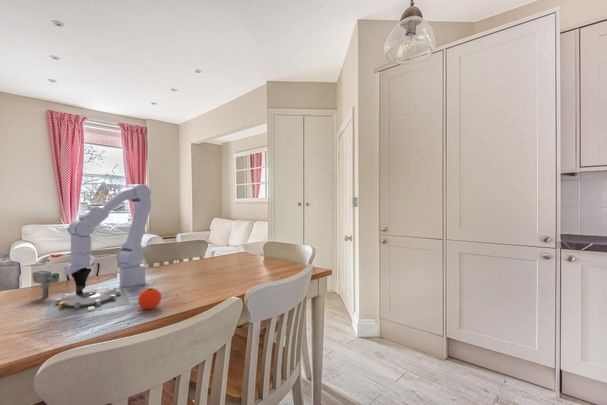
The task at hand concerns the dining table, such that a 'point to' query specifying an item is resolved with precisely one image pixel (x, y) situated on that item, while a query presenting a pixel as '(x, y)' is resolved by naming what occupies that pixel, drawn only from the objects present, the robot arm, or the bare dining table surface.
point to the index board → (67, 311)
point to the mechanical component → (45, 280)
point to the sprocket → (87, 297)
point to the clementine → (149, 298)
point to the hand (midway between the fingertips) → (80, 289)
